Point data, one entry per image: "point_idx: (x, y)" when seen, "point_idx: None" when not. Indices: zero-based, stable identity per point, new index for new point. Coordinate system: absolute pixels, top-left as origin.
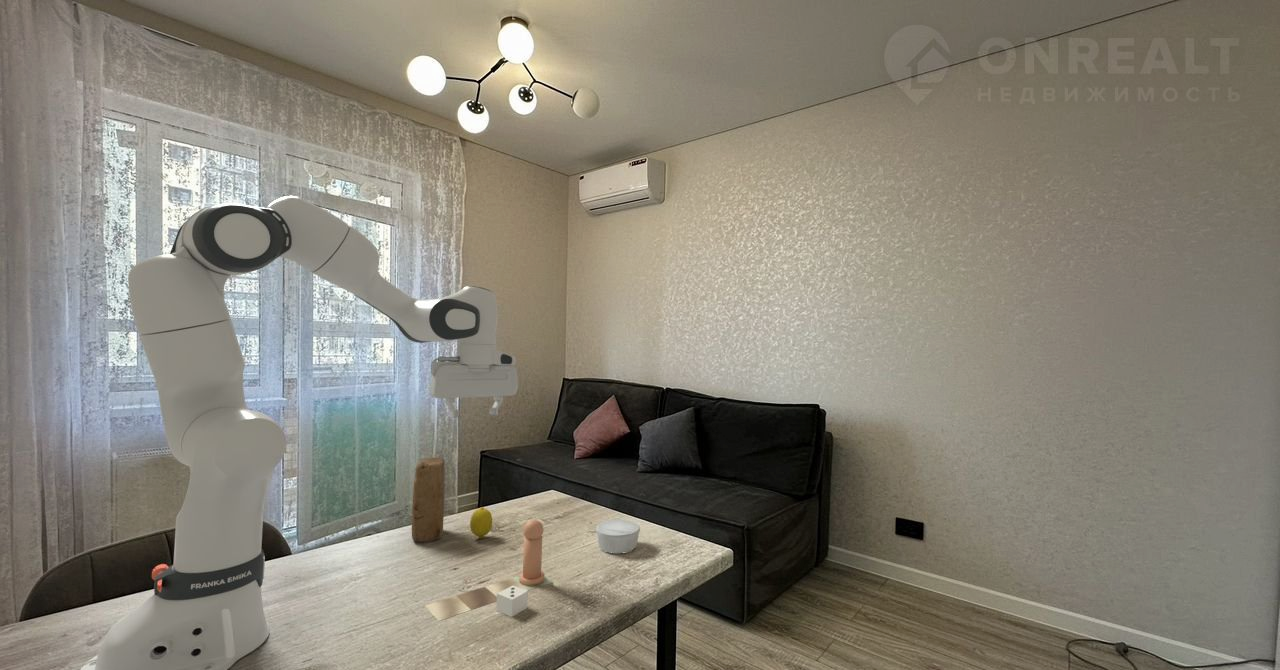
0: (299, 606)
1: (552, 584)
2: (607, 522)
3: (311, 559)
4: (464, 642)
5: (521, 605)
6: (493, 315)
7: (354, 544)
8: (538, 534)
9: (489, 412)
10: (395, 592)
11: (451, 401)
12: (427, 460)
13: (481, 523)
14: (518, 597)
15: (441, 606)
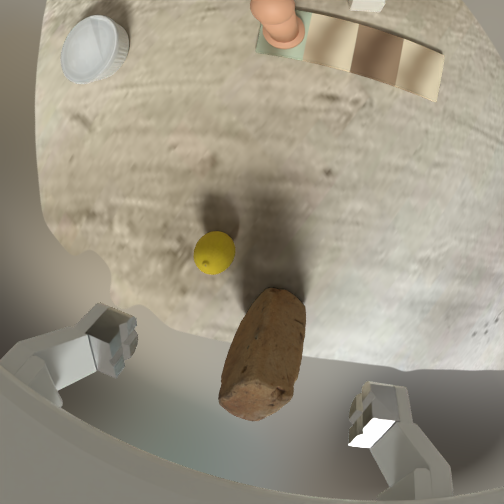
0: (492, 244)
1: None
2: (81, 75)
3: (407, 349)
4: (439, 6)
5: None
6: None
7: (352, 354)
8: None
9: (131, 351)
10: (427, 179)
11: (437, 476)
12: (253, 410)
13: (223, 240)
14: None
15: (424, 79)
